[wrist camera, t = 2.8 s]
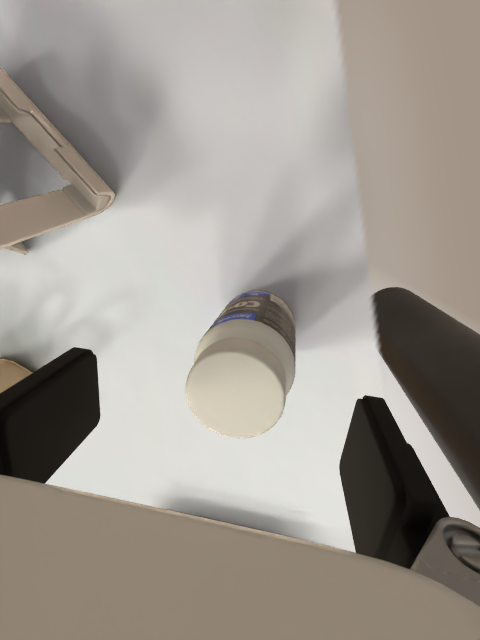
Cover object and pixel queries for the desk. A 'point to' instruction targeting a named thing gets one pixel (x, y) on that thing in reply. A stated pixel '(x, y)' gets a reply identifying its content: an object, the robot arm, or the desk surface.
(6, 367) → the decorative ornament
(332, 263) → the desk surface
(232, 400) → the pill bottle
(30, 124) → the tablet stand
